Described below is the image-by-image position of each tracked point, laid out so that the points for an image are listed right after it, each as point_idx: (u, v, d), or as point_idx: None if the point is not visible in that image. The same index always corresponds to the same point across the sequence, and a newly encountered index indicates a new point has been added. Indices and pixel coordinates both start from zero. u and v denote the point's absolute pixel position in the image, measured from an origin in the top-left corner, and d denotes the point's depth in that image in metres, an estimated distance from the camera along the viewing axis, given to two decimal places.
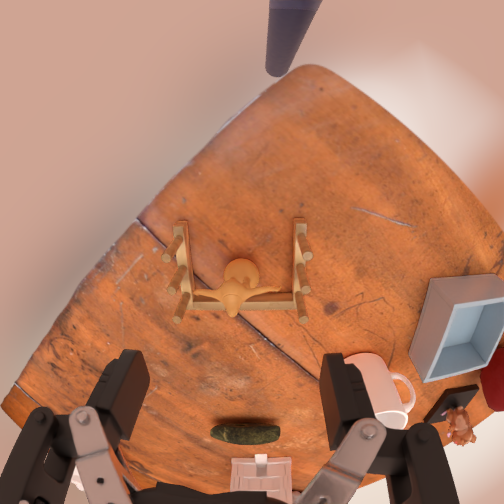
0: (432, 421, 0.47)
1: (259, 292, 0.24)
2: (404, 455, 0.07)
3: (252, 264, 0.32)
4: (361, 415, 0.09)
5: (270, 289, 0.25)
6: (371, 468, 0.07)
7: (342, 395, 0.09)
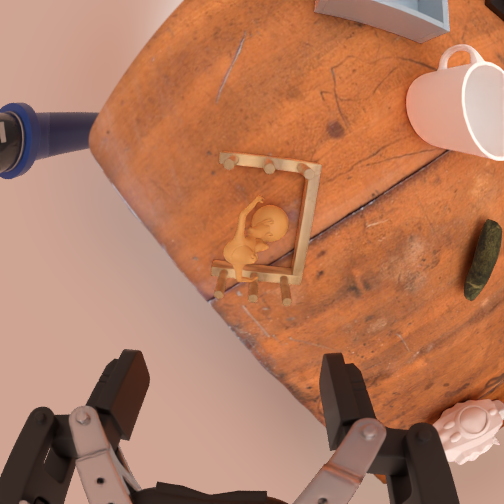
0: None
1: (241, 225, 0.24)
2: (404, 455, 0.07)
3: (257, 210, 0.31)
4: (361, 415, 0.09)
5: (243, 212, 0.24)
6: (371, 468, 0.07)
7: (342, 395, 0.09)
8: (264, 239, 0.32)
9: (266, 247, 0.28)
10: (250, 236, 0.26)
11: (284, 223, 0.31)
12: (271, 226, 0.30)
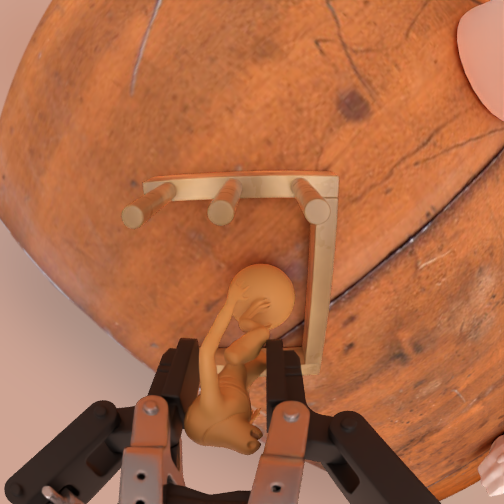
0: None
1: (208, 380, 0.09)
2: (328, 442, 0.08)
3: None
4: (291, 399, 0.10)
5: (207, 349, 0.09)
6: None
7: (273, 378, 0.10)
8: None
9: None
10: (233, 369, 0.11)
11: (289, 298, 0.16)
12: (267, 311, 0.16)
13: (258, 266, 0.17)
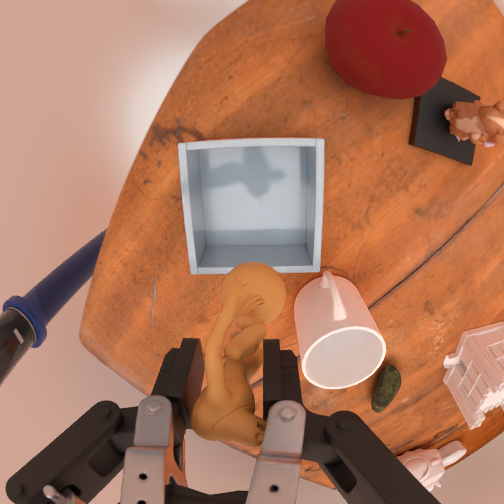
0: (469, 152, 0.29)
1: (216, 375, 0.09)
2: (324, 442, 0.08)
3: (227, 279, 0.17)
4: (287, 398, 0.10)
5: (213, 344, 0.09)
6: None
7: (270, 377, 0.10)
8: None
9: None
10: (234, 364, 0.12)
11: (281, 295, 0.17)
12: (260, 308, 0.16)
13: (250, 264, 0.17)
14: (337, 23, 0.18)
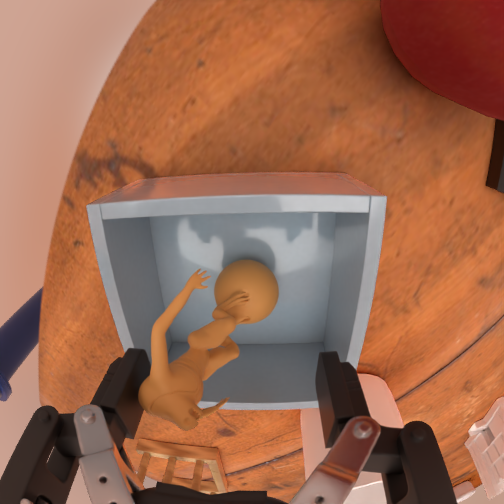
0: None
1: (157, 354, 0.10)
2: (398, 453, 0.07)
3: (220, 274, 0.18)
4: (356, 413, 0.09)
5: (158, 326, 0.10)
6: (366, 466, 0.07)
7: (337, 393, 0.09)
8: None
9: (234, 356, 0.14)
10: (194, 352, 0.12)
11: (269, 295, 0.17)
12: (245, 305, 0.16)
13: (243, 261, 0.18)
14: None
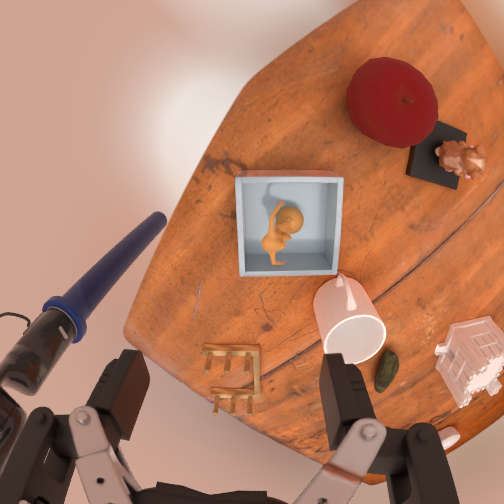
0: (455, 179, 0.39)
1: (272, 223, 0.34)
2: (404, 455, 0.07)
3: (279, 211, 0.41)
4: (361, 415, 0.09)
5: (272, 214, 0.34)
6: (371, 468, 0.07)
7: (342, 395, 0.09)
8: (287, 232, 0.41)
9: (290, 238, 0.38)
10: (278, 231, 0.36)
11: (300, 219, 0.40)
12: (291, 222, 0.40)
13: (289, 206, 0.41)
14: (359, 91, 0.28)
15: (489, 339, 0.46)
